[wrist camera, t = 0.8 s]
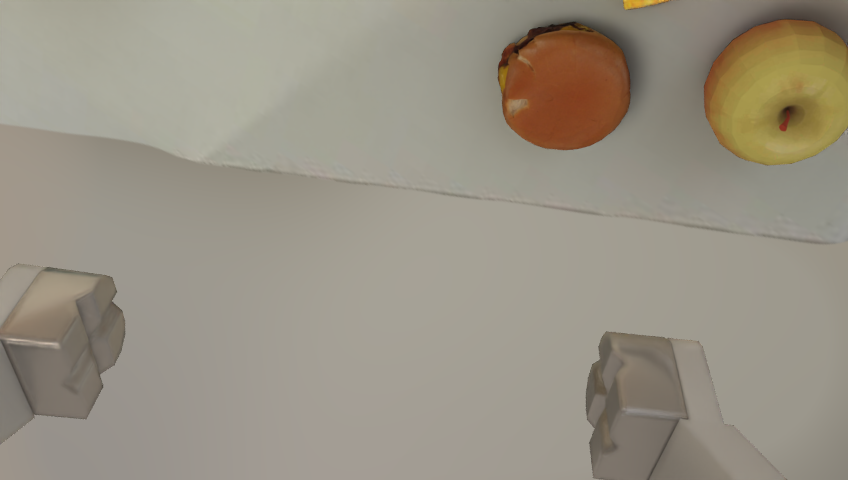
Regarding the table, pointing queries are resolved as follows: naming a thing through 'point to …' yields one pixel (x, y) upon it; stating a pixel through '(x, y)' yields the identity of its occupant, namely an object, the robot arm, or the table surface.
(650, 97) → the table surface
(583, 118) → the burger
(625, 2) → the candy bar
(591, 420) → the robot arm
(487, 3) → the table surface
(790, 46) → the apple
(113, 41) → the table surface
